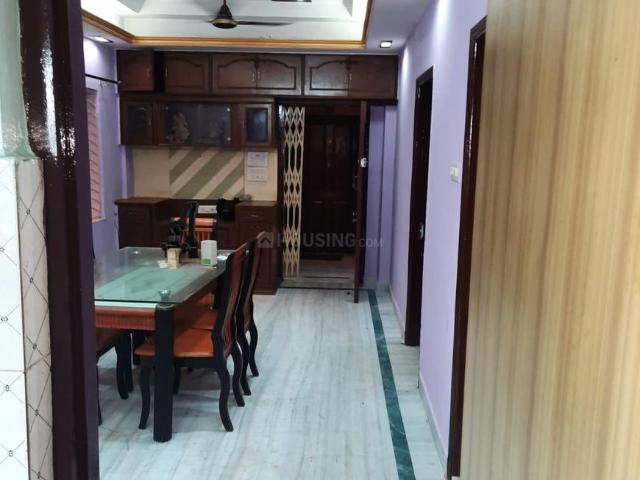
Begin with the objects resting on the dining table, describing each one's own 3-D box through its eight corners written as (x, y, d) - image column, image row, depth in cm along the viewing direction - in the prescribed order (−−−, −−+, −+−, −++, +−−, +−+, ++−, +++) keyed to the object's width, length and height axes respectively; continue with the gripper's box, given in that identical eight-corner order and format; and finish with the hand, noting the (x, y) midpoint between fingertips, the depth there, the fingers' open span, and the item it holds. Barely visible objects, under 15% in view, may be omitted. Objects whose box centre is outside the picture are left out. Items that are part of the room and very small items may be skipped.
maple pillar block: (171, 267, 356) (170, 248, 354) (179, 267, 355) (177, 248, 353) (168, 268, 351) (167, 250, 349) (176, 268, 350) (174, 250, 348)
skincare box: (201, 264, 360) (200, 241, 358) (208, 262, 366) (206, 239, 363) (211, 265, 356) (210, 242, 354) (218, 263, 362) (216, 240, 360)
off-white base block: (172, 263, 367) (172, 259, 366) (175, 266, 358) (175, 261, 357) (157, 265, 362) (156, 261, 362) (159, 268, 354) (159, 263, 353)
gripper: (160, 230, 354) (153, 250, 345) (187, 230, 352) (182, 250, 343) (166, 240, 363) (160, 260, 354) (193, 240, 361) (187, 260, 352)
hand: (172, 257), depth 351 cm, fingers open, 9 cm apart
